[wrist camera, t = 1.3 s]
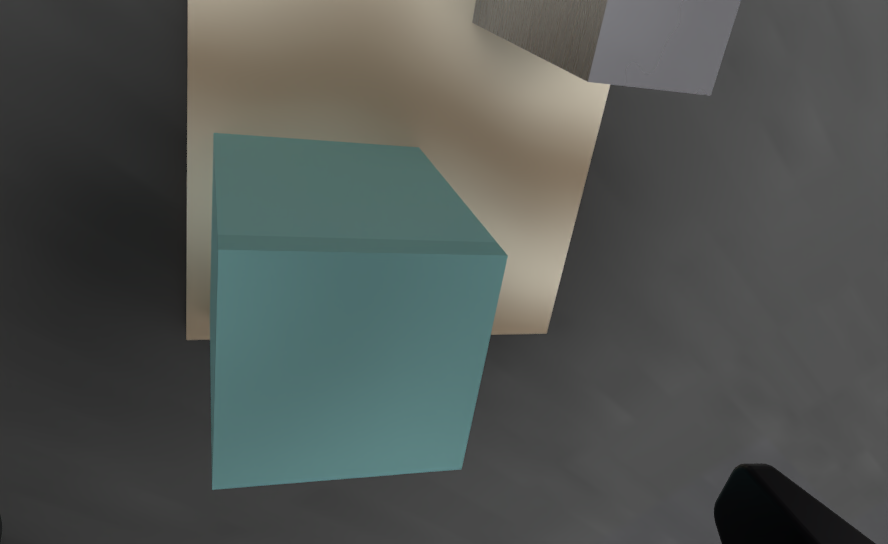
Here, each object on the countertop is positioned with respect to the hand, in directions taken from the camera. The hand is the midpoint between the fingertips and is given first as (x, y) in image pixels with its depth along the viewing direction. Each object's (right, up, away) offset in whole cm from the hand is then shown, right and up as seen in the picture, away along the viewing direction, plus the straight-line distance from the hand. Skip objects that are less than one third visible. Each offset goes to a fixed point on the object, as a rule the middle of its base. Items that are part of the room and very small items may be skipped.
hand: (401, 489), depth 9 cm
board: (0, +7, +10) cm, 12 cm away
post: (+3, +10, +10) cm, 14 cm away
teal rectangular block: (-3, +4, +11) cm, 12 cm away
